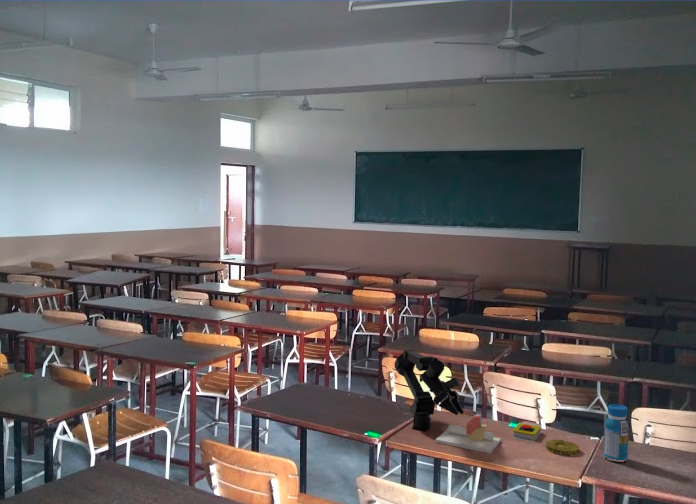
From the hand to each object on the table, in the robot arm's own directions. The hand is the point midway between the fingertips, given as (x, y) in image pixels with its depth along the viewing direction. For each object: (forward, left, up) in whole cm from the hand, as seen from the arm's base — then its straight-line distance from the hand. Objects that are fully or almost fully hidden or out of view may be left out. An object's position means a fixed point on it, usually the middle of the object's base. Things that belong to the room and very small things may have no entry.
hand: (460, 413), depth 248 cm
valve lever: (+6, -1, -5) cm, 8 cm away
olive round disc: (+37, +13, -12) cm, 41 cm away
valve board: (+3, +2, -11) cm, 12 cm away
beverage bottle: (+56, +14, -12) cm, 59 cm away
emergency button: (+21, +23, -12) cm, 34 cm away
